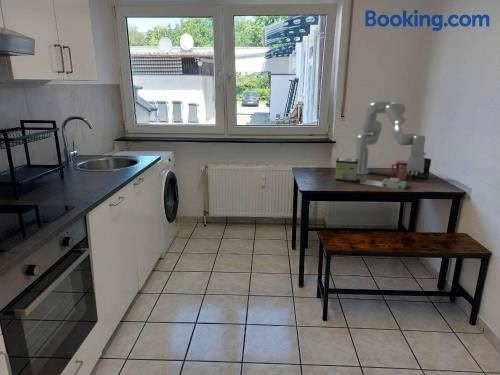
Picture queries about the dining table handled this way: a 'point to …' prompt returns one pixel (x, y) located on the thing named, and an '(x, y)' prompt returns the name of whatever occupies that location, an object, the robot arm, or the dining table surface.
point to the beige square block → (394, 180)
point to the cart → (400, 185)
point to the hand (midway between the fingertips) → (413, 180)
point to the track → (375, 183)
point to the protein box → (346, 169)
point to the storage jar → (425, 170)
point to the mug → (400, 170)
